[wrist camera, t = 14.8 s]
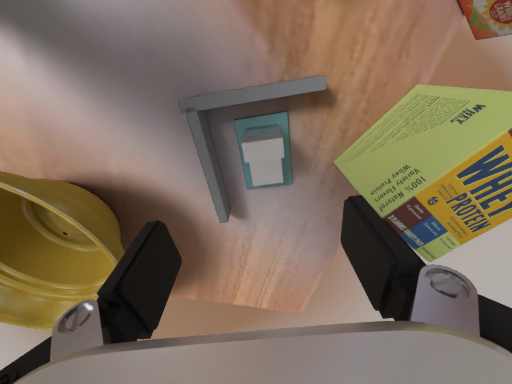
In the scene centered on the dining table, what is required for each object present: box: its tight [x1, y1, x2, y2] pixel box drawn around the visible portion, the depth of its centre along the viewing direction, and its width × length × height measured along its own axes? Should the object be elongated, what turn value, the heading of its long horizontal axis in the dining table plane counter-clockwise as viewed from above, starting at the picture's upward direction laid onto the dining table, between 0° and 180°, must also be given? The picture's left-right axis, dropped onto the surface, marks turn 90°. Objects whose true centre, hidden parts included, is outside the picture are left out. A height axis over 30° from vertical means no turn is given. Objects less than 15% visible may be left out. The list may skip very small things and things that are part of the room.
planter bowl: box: [0, 171, 125, 330], centre depth 34 cm, size 32×32×13 cm
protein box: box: [333, 84, 512, 262], centre depth 26 cm, size 10×15×16 cm
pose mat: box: [234, 111, 292, 189], centre depth 33 cm, size 8×12×1 cm, turn 9°
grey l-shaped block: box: [241, 124, 284, 186], centre depth 30 cm, size 9×5×8 cm, turn 8°
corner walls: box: [178, 75, 326, 223], centre depth 32 cm, size 18×20×4 cm
